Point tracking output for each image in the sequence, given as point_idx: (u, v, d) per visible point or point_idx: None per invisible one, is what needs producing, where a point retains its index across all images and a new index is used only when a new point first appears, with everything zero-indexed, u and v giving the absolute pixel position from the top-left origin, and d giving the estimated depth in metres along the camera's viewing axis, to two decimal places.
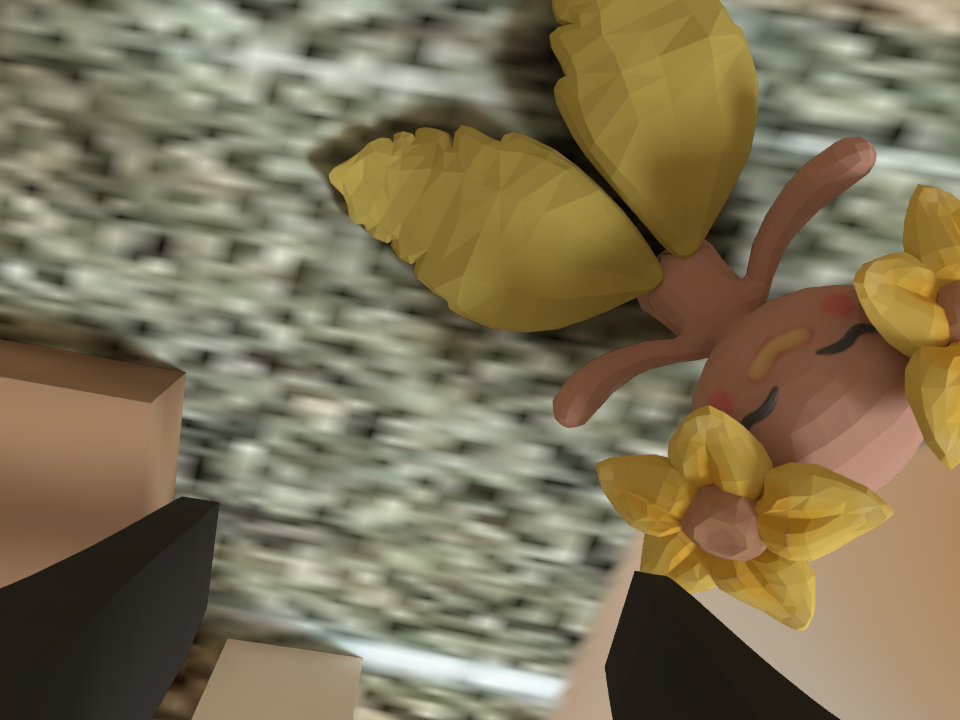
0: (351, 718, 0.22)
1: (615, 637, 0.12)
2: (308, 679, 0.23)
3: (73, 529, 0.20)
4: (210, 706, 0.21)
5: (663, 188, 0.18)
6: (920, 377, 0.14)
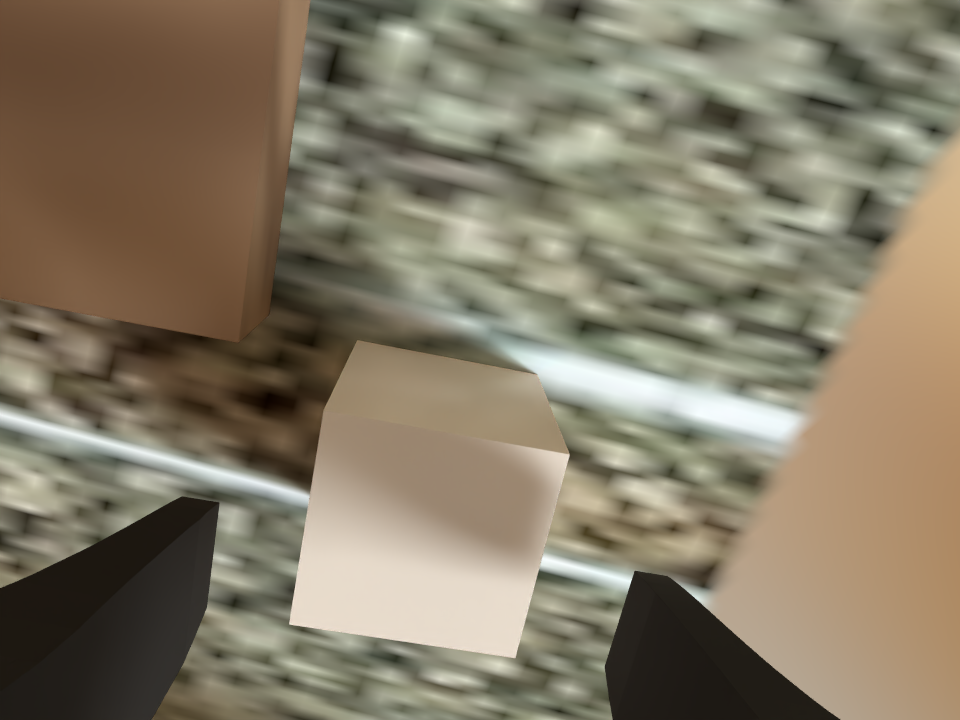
0: (550, 411, 0.15)
1: (615, 637, 0.12)
2: (477, 378, 0.16)
3: (171, 79, 0.13)
4: (357, 379, 0.15)
5: None
6: None
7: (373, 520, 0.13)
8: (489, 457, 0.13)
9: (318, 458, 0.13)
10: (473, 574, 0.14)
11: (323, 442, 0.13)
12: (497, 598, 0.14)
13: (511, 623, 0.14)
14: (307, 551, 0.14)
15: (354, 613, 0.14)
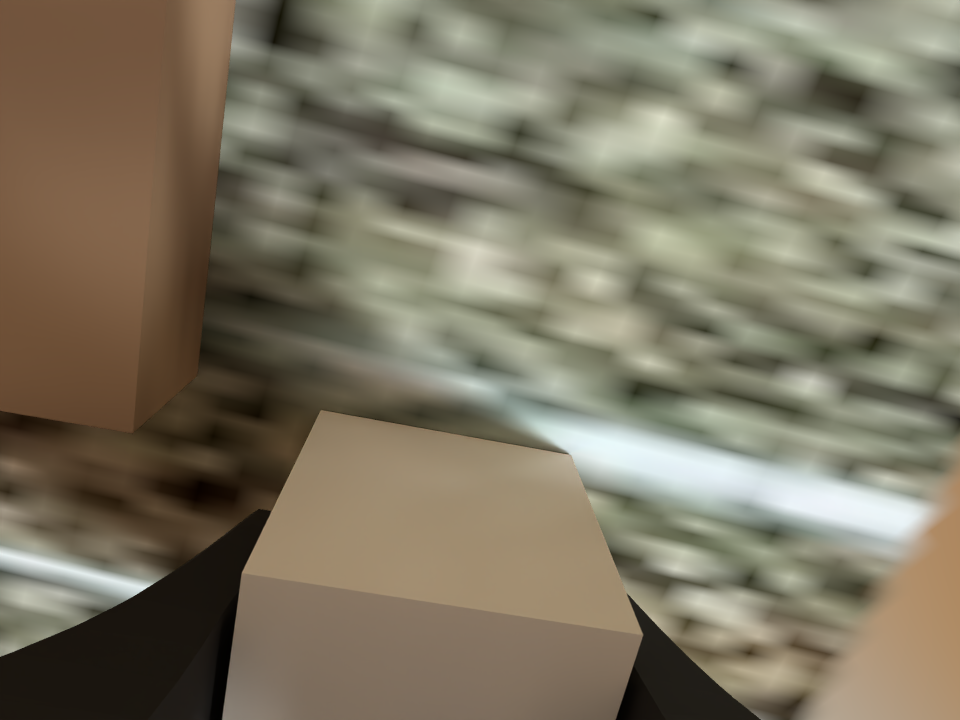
0: (600, 533, 0.10)
1: None
2: (489, 473, 0.11)
3: (5, 28, 0.08)
4: (309, 493, 0.10)
5: None
6: None
7: None
8: (513, 640, 0.08)
9: (236, 645, 0.08)
10: None
11: (243, 621, 0.08)
12: None
13: None
14: None
15: None
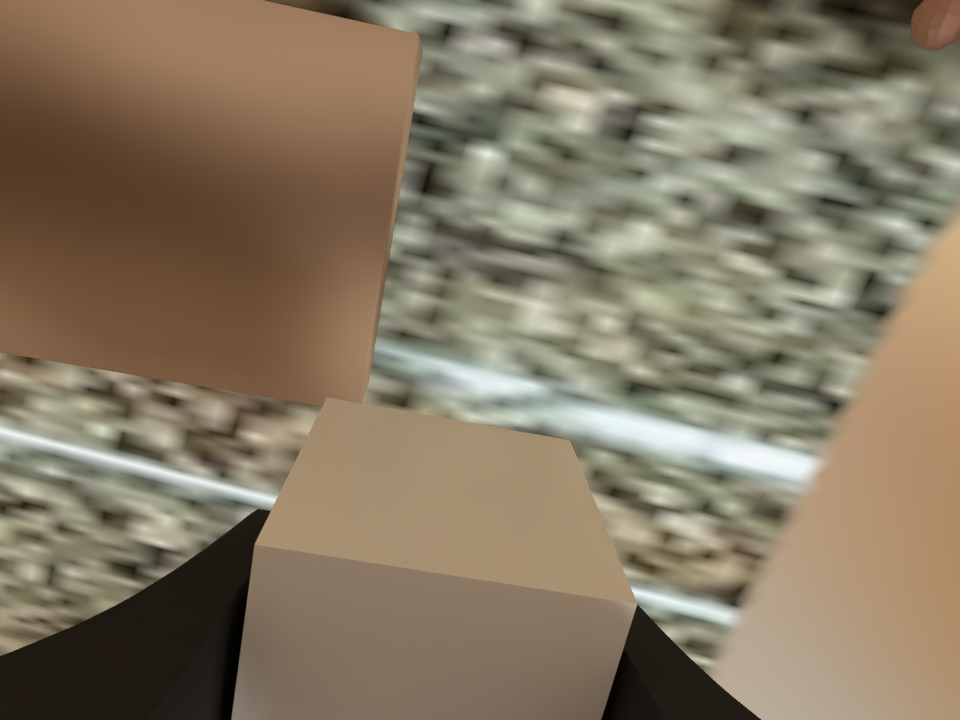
0: (597, 512, 0.11)
1: None
2: (490, 457, 0.12)
3: (312, 207, 0.16)
4: (317, 473, 0.10)
5: None
6: None
7: (335, 701, 0.09)
8: (513, 609, 0.08)
9: (249, 614, 0.08)
10: None
11: (256, 591, 0.08)
12: None
13: None
14: None
15: None
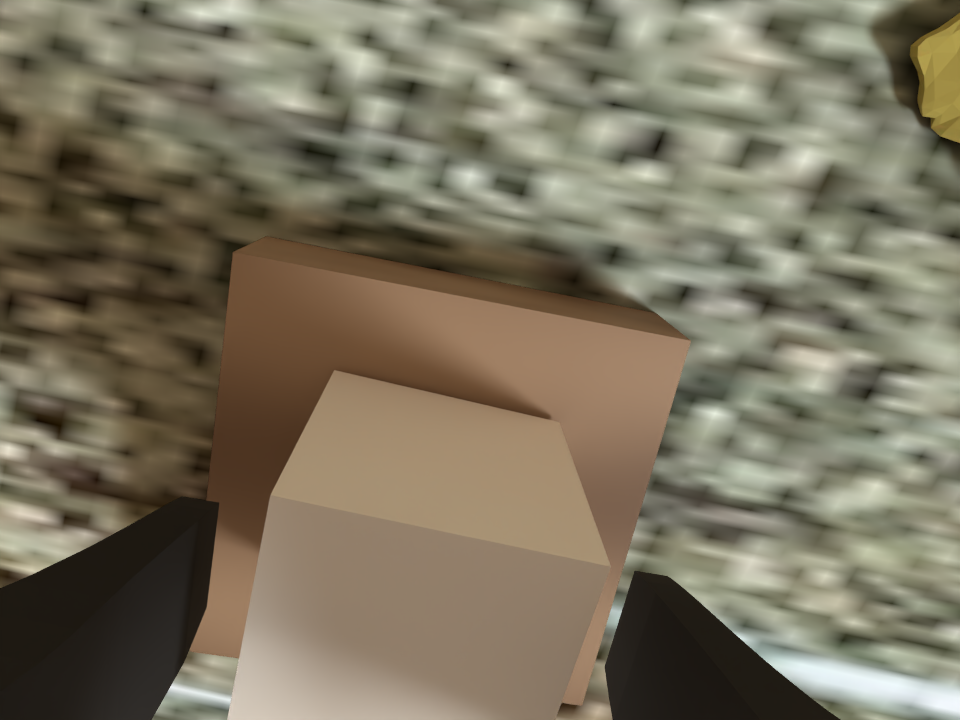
0: (580, 486, 0.12)
1: (615, 637, 0.12)
2: (484, 432, 0.13)
3: None
4: (325, 437, 0.11)
5: None
6: None
7: (335, 641, 0.10)
8: (499, 565, 0.09)
9: (262, 558, 0.09)
10: (470, 714, 0.10)
11: (269, 537, 0.09)
12: None
13: None
14: (244, 677, 0.10)
15: None
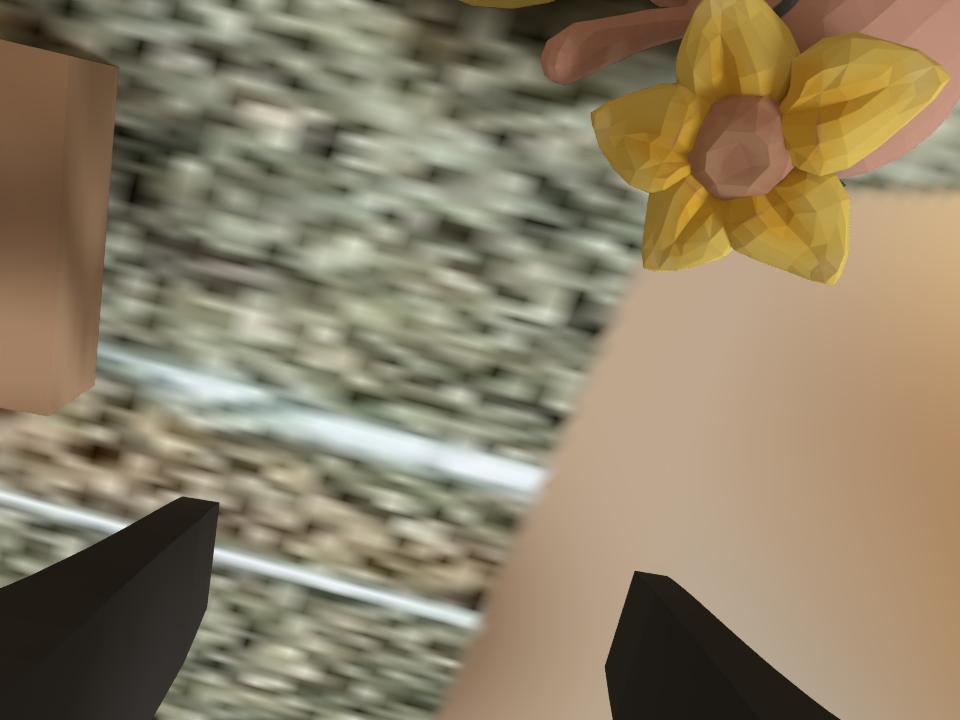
0: None
1: (615, 637, 0.12)
2: None
3: None
4: None
5: None
6: None
7: None
8: None
9: None
10: None
11: None
12: None
13: None
14: None
15: None
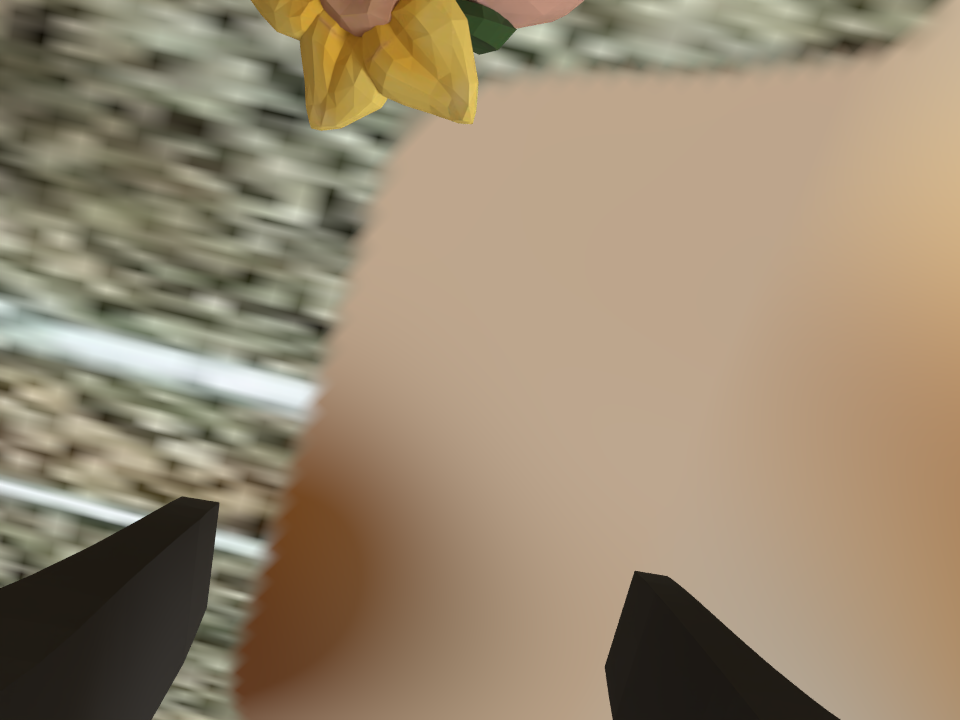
0: None
1: (615, 637, 0.12)
2: None
3: None
4: None
5: None
6: None
7: None
8: None
9: None
10: None
11: None
12: None
13: None
14: None
15: None
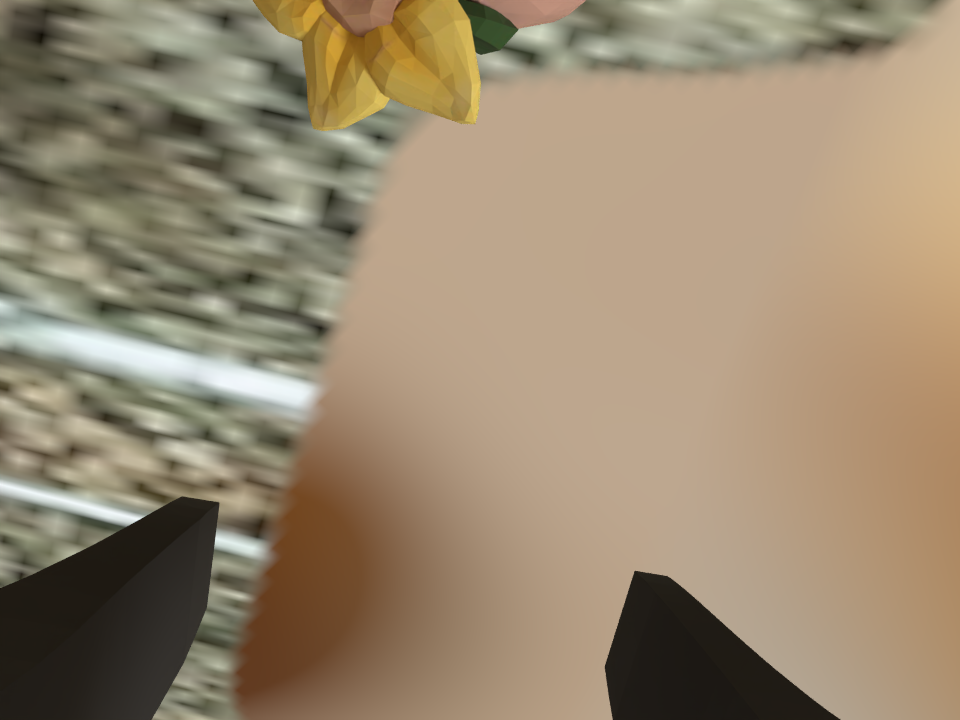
0: None
1: (615, 637, 0.12)
2: None
3: None
4: None
5: None
6: None
7: None
8: None
9: None
10: None
11: None
12: None
13: None
14: None
15: None
